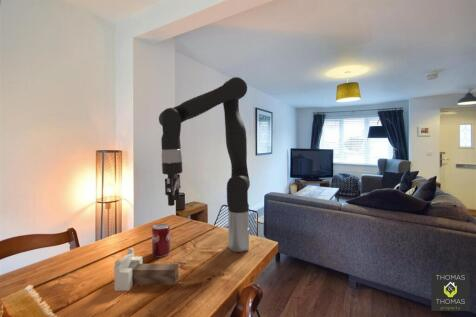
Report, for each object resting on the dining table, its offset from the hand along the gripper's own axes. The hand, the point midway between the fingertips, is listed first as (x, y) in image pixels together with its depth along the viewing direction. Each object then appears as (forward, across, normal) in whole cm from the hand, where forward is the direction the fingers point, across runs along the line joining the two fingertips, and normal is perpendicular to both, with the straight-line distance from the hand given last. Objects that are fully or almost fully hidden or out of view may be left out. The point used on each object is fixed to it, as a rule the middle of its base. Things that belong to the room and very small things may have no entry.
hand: (174, 202), depth 90 cm
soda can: (+24, -8, -9) cm, 27 cm away
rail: (+24, +12, -6) cm, 27 cm away
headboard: (+24, +12, -14) cm, 30 cm away
